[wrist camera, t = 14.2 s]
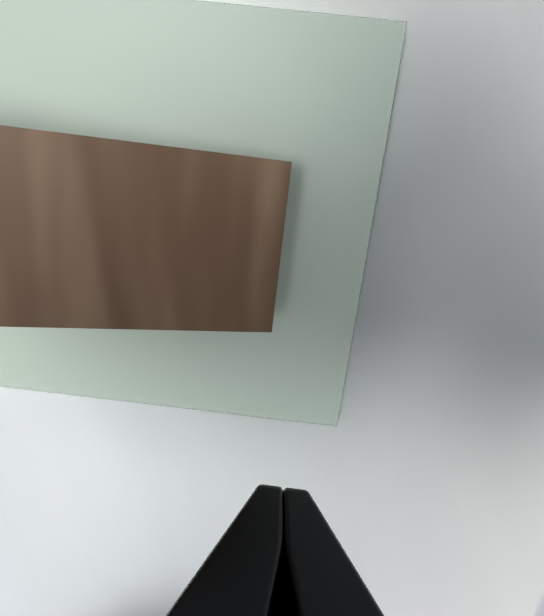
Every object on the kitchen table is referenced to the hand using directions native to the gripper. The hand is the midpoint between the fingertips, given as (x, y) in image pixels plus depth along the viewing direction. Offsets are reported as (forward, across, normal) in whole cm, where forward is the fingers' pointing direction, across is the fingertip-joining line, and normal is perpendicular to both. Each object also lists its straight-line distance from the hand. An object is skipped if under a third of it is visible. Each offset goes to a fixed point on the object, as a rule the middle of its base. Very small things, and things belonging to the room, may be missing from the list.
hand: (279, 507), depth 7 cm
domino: (+7, +1, -3) cm, 8 cm away
